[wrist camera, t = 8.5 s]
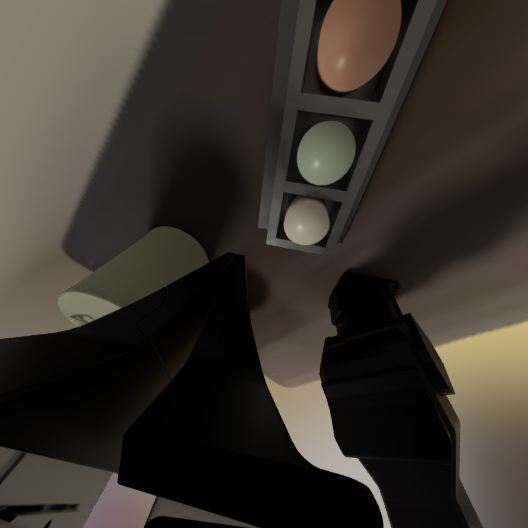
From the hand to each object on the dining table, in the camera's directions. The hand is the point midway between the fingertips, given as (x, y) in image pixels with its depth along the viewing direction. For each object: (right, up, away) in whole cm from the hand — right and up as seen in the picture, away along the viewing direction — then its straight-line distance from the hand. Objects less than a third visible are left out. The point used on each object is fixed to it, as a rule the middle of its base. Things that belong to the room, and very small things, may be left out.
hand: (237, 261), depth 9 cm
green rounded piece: (+6, +9, +6) cm, 12 cm away
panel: (+6, +10, +7) cm, 13 cm away
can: (-11, +1, +17) cm, 20 cm away
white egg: (+5, +5, +9) cm, 12 cm away
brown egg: (+6, +13, +3) cm, 15 cm away
